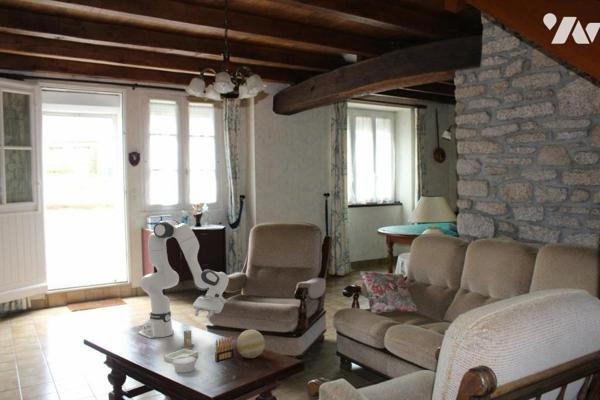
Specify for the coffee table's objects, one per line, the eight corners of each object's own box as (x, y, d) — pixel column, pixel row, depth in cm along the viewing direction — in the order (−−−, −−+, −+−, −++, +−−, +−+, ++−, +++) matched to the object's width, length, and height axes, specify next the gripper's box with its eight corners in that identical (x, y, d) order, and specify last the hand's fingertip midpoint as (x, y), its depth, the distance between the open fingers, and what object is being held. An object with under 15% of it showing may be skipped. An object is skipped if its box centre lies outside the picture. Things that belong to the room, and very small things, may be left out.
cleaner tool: (181, 349, 290) (181, 332, 290) (190, 346, 296) (190, 329, 296) (185, 350, 289) (184, 332, 288) (194, 347, 295) (193, 329, 294)
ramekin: (188, 364, 267) (188, 354, 267) (200, 369, 259) (200, 359, 259) (169, 370, 259) (168, 359, 259) (180, 375, 251) (180, 365, 251)
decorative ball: (251, 364, 265) (250, 335, 264) (231, 358, 274) (230, 330, 273) (270, 356, 276) (270, 329, 276) (250, 351, 286) (250, 324, 285)
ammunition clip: (216, 362, 268) (216, 340, 268) (214, 362, 270) (214, 339, 269) (234, 358, 275) (233, 336, 274) (232, 357, 276) (231, 335, 276)
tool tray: (163, 360, 273) (163, 356, 272) (183, 352, 285) (183, 348, 285) (177, 364, 267) (177, 359, 267) (197, 356, 279) (197, 351, 279)
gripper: (197, 292, 313) (186, 311, 305) (222, 295, 302) (211, 316, 294) (202, 298, 317) (191, 317, 309) (227, 301, 306) (217, 321, 298)
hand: (201, 316), depth 302 cm, fingers open, 8 cm apart
